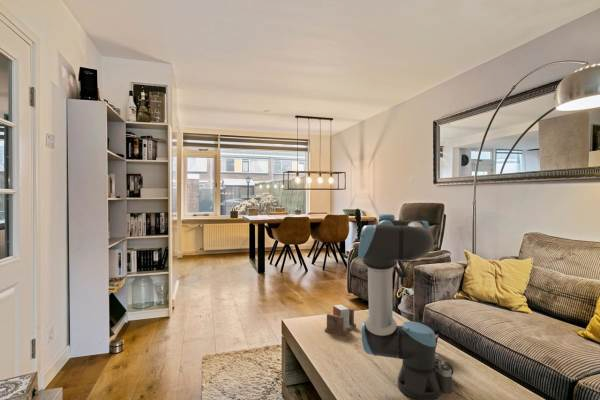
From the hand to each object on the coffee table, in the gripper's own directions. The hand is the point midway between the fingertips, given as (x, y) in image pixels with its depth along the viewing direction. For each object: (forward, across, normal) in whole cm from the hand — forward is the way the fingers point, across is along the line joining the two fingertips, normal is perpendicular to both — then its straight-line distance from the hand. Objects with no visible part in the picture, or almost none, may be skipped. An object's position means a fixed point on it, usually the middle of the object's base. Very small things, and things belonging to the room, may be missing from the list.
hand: (386, 288), depth 157 cm
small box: (+26, +26, -3) cm, 36 cm away
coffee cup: (+27, -19, -1) cm, 33 cm away
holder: (+27, +26, -3) cm, 37 cm away
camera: (+27, -28, +20) cm, 44 cm away
